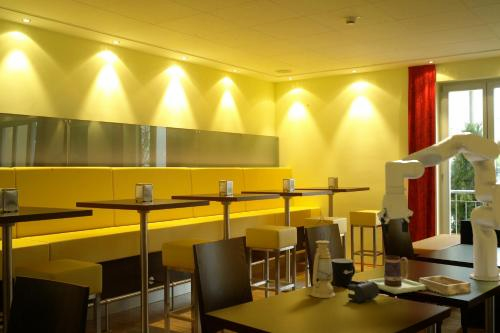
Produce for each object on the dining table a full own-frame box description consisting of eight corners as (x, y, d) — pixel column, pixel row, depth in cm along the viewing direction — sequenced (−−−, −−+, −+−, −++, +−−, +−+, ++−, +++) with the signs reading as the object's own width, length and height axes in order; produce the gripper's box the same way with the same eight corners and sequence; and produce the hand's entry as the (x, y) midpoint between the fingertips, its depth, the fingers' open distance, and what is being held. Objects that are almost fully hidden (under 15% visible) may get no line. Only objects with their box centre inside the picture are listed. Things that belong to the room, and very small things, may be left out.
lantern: (321, 290, 201) (321, 215, 201) (342, 294, 194) (341, 216, 194) (302, 295, 192) (301, 217, 192) (323, 300, 185) (322, 219, 185)
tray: (397, 280, 216) (397, 276, 216) (426, 289, 200) (426, 285, 200) (366, 284, 210) (366, 280, 210) (394, 293, 194) (394, 289, 194)
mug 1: (343, 288, 204) (343, 263, 204) (327, 284, 211) (326, 260, 211) (362, 284, 211) (362, 260, 211) (346, 280, 218) (346, 257, 218)
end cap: (363, 305, 177) (363, 286, 177) (347, 302, 183) (347, 283, 183) (379, 300, 184) (379, 282, 184) (363, 297, 189) (363, 279, 189)
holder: (442, 283, 210) (441, 275, 210) (470, 291, 196) (470, 282, 196) (419, 286, 205) (419, 278, 205) (446, 294, 191) (446, 285, 191)
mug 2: (380, 285, 206) (380, 255, 206) (389, 282, 211) (389, 253, 211) (403, 289, 199) (402, 258, 199) (412, 286, 203) (411, 256, 204)
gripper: (405, 190, 212) (406, 230, 212) (371, 191, 206) (372, 233, 205) (418, 190, 205) (418, 232, 205) (383, 192, 199) (383, 235, 198)
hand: (395, 232), depth 205 cm, fingers open, 9 cm apart
